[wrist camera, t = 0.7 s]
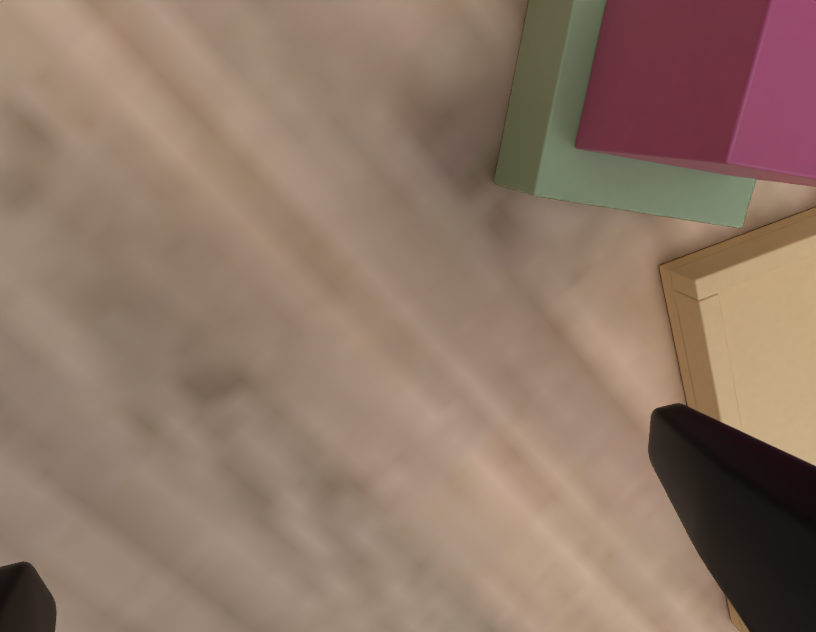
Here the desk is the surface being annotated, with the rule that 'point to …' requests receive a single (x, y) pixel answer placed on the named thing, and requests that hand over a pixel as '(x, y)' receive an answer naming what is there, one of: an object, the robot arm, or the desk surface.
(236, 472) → the desk surface
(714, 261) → the tray
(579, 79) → the sage block
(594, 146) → the mulberry block
